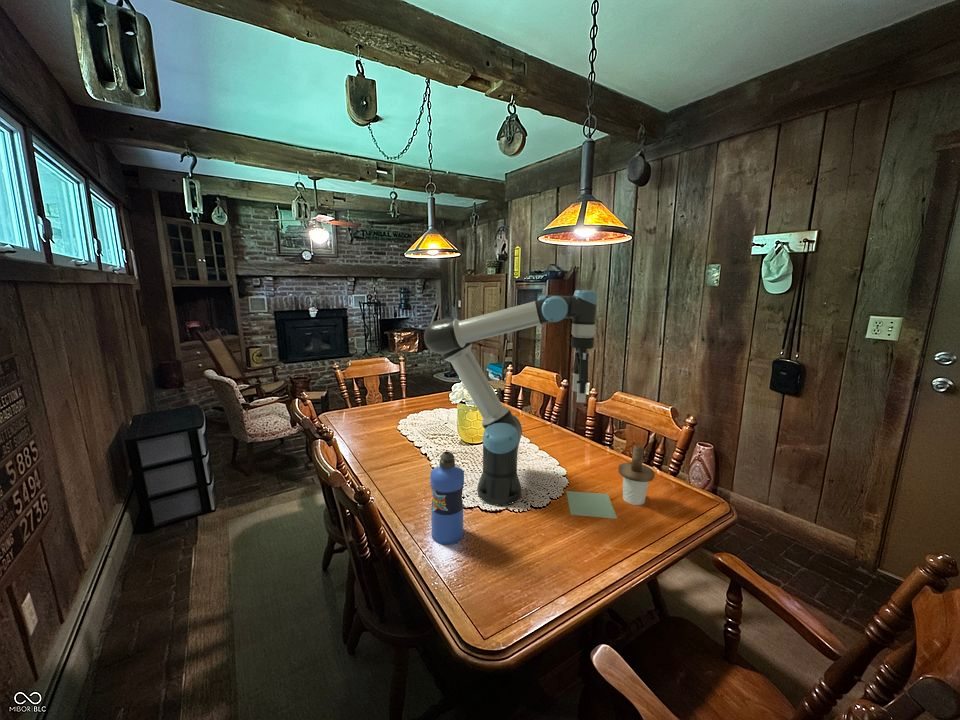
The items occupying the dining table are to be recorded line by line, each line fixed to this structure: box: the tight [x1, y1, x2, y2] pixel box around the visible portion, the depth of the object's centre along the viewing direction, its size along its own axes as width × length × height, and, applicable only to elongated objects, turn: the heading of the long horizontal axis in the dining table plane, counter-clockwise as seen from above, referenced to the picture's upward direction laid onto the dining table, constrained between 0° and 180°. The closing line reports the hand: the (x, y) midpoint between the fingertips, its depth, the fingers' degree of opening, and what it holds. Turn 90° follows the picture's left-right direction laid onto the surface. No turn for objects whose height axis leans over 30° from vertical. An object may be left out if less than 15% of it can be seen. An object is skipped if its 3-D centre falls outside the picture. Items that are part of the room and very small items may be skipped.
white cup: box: [622, 476, 649, 506], centre depth 124 cm, size 8×8×10 cm
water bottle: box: [429, 450, 465, 546], centre depth 104 cm, size 9×9×25 cm
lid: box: [617, 444, 656, 483], centre depth 122 cm, size 11×11×9 cm
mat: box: [565, 490, 618, 520], centre depth 122 cm, size 14×14×1 cm
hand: (578, 396), depth 131 cm, fingers open, 13 cm apart
